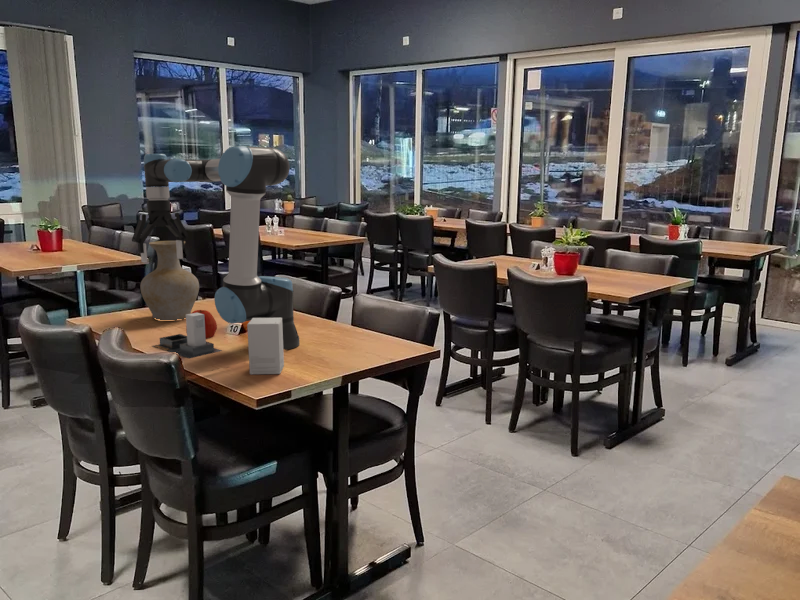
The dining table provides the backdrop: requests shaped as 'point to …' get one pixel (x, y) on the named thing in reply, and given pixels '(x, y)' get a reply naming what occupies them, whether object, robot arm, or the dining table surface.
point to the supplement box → (265, 345)
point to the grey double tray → (184, 346)
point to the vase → (169, 285)
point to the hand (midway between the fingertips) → (162, 260)
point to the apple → (208, 323)
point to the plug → (195, 329)
